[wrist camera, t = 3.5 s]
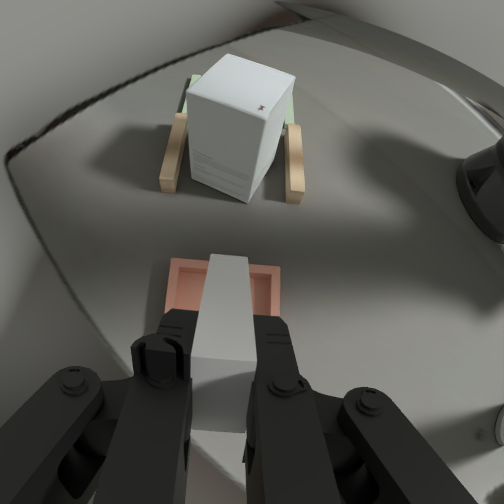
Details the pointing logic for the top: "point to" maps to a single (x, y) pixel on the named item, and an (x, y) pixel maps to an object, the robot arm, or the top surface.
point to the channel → (292, 159)
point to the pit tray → (193, 279)
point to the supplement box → (236, 124)
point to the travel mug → (500, 428)
